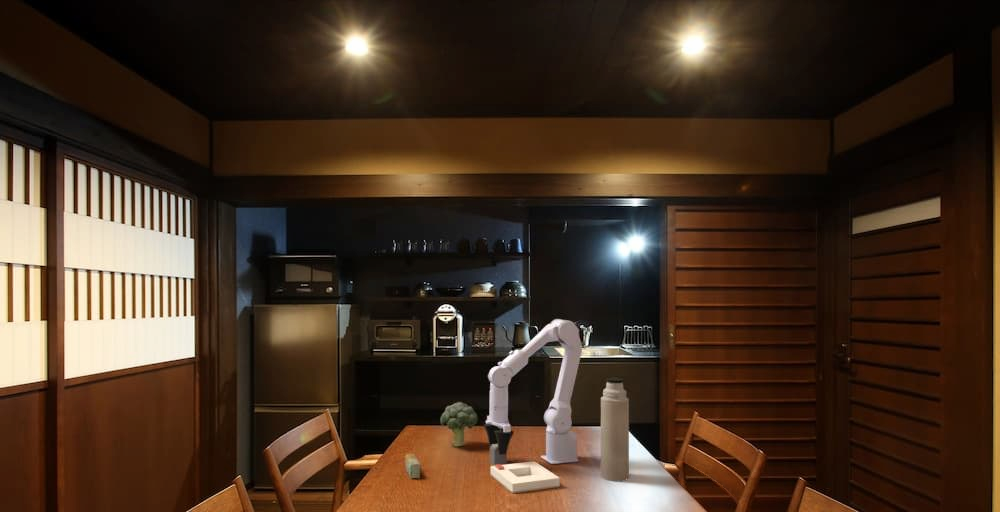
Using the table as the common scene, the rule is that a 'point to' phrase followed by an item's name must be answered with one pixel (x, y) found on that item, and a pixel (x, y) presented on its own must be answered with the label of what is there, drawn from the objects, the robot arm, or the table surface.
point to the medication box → (412, 466)
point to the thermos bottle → (614, 431)
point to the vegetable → (459, 420)
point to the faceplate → (524, 477)
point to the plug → (497, 456)
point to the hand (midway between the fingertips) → (497, 450)
